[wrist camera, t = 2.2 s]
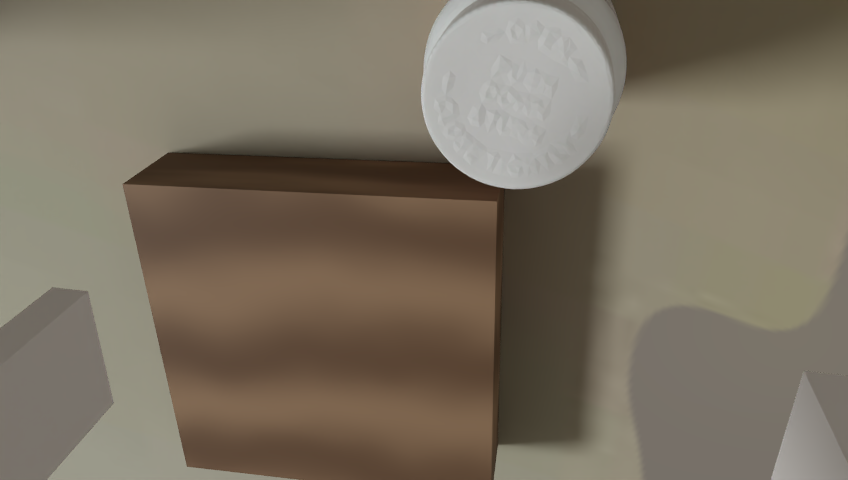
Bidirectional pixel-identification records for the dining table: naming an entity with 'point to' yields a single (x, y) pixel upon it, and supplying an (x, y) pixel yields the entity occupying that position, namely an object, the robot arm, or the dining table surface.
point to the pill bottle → (522, 86)
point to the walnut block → (325, 313)
